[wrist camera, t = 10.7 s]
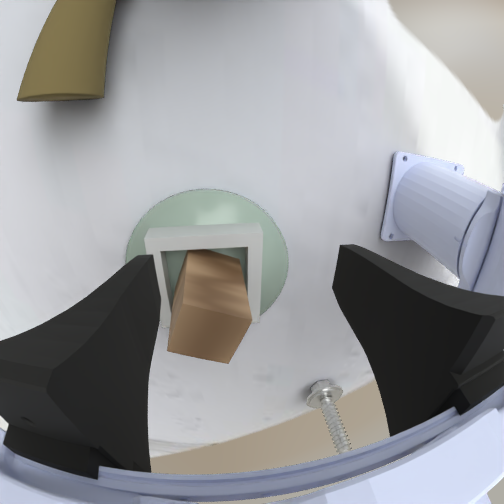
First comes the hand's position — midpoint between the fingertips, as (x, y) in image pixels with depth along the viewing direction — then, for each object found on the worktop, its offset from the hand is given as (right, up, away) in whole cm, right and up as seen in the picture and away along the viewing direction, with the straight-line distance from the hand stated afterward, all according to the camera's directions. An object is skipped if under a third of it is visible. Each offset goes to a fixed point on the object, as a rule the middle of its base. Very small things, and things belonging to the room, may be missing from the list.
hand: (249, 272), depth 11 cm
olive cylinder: (-12, +10, +1) cm, 15 cm away
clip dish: (-4, -1, +12) cm, 12 cm away
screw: (+9, -17, +22) cm, 29 cm away
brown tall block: (-3, -1, +11) cm, 12 cm away
